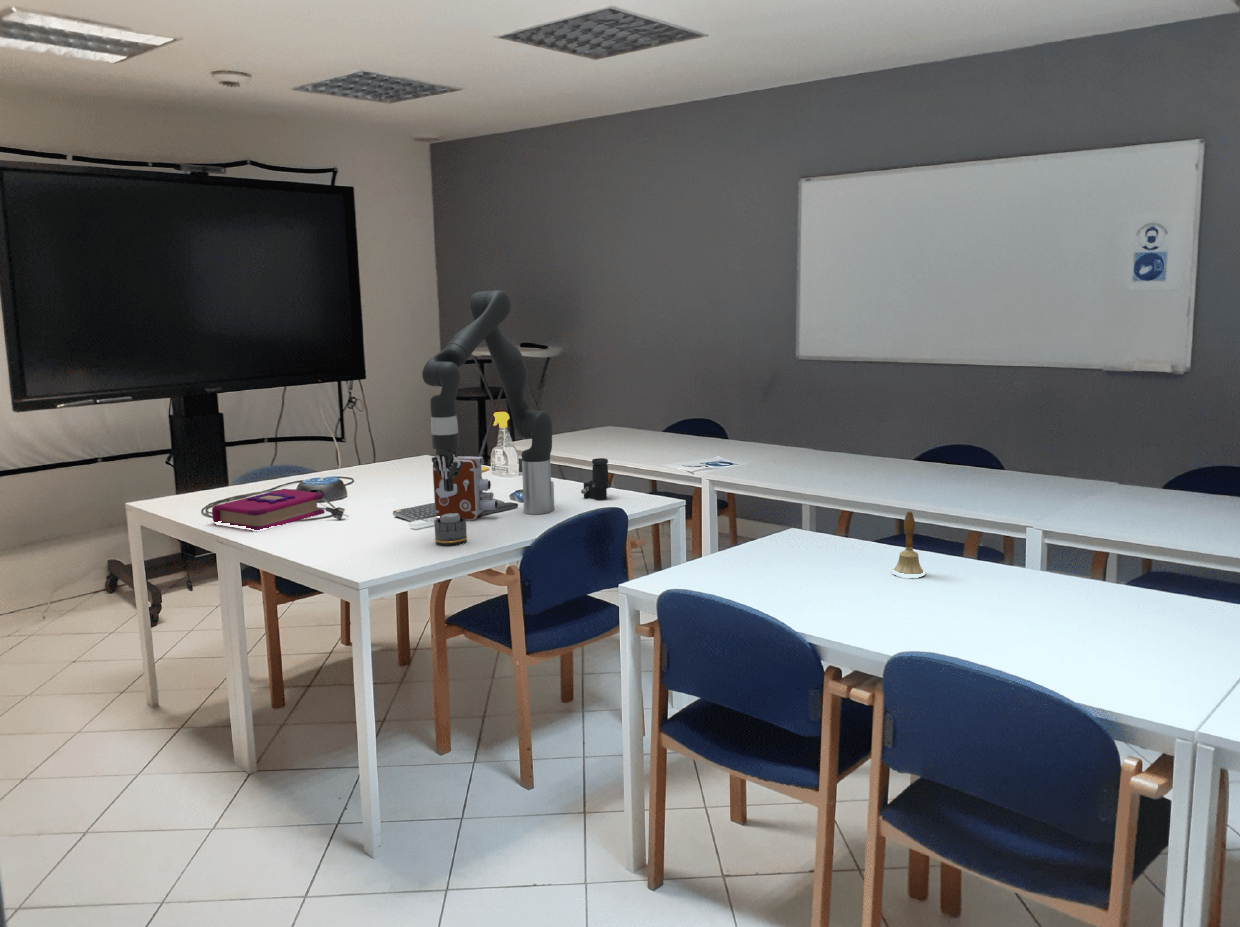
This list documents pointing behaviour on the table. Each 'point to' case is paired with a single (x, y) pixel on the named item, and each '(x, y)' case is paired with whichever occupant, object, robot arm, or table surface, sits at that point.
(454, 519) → the lens cap
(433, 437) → the robot arm
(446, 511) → the cine camera
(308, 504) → the book
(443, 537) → the lens barrel
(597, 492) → the scope
